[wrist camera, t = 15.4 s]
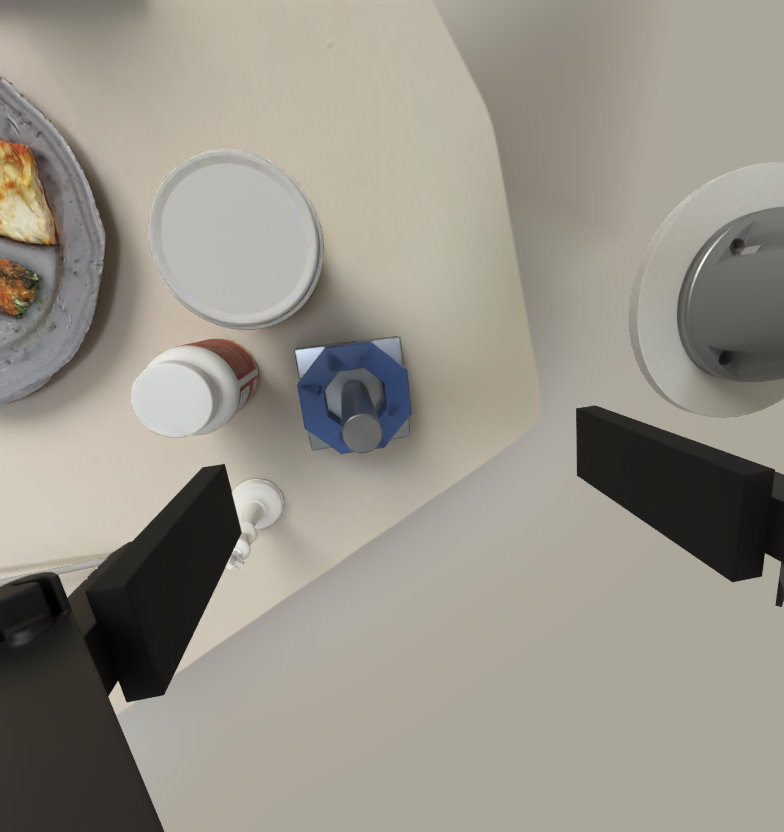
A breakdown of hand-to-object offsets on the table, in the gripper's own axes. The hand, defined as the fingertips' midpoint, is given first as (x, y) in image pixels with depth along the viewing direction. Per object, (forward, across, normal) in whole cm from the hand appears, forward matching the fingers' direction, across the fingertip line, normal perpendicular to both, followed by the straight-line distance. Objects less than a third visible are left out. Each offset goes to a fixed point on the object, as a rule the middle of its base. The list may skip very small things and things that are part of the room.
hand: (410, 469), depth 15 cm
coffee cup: (+22, -7, +10) cm, 26 cm away
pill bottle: (+22, -13, +2) cm, 26 cm away
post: (+22, -2, -1) cm, 22 cm away
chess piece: (+22, -12, -10) cm, 28 cm away
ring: (+21, -2, -1) cm, 21 cm away
